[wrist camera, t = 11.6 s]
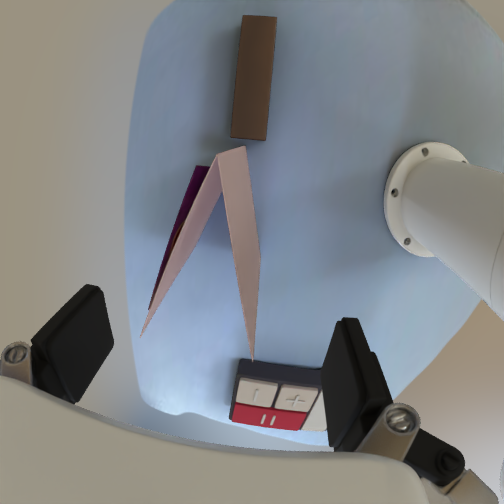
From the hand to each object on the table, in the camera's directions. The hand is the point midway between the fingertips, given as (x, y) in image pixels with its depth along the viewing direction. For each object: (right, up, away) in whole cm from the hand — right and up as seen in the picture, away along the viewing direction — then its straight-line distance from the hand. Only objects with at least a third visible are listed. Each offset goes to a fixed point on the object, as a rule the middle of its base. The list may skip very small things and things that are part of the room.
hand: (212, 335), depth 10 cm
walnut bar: (+2, +19, +12) cm, 23 cm away
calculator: (+6, -17, +27) cm, 32 cm away
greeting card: (+1, +7, +17) cm, 19 cm away
